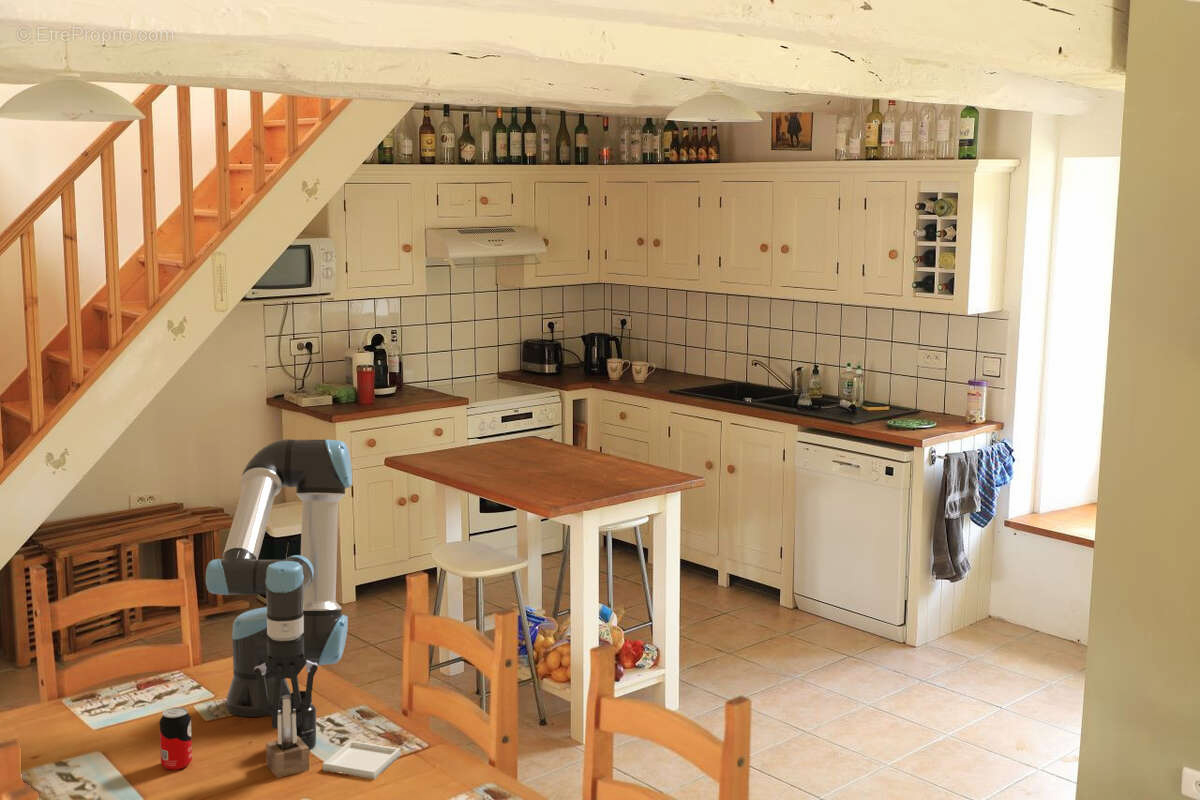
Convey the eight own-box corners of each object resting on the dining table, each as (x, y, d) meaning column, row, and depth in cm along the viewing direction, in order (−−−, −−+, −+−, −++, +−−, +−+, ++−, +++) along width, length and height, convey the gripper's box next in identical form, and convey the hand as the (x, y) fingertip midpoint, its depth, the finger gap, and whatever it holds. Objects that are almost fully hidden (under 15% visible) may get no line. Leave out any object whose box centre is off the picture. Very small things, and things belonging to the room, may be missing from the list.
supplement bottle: (308, 753, 263) (307, 702, 261) (279, 750, 264) (278, 699, 262) (321, 741, 269) (321, 690, 268) (293, 737, 271) (292, 687, 269)
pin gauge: (281, 762, 254) (280, 699, 252) (281, 757, 257) (280, 695, 255) (293, 761, 255) (292, 699, 253) (294, 756, 257) (293, 694, 255)
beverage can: (174, 774, 252) (172, 720, 250) (154, 766, 255) (152, 713, 253) (198, 763, 257) (197, 710, 255) (179, 756, 260) (177, 703, 258)
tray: (322, 770, 255) (322, 763, 255) (350, 747, 266) (350, 740, 266) (374, 779, 251) (374, 772, 251) (400, 755, 263) (400, 748, 263)
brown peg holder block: (266, 764, 257) (266, 742, 256) (298, 757, 261) (297, 735, 260) (276, 777, 251) (276, 755, 250) (309, 770, 255) (308, 747, 254)
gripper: (246, 643, 246) (248, 751, 250) (322, 639, 250) (324, 745, 253) (248, 631, 254) (251, 736, 257) (322, 627, 257) (324, 731, 260)
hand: (287, 740), depth 255 cm, fingers closed on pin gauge, 2 cm apart
